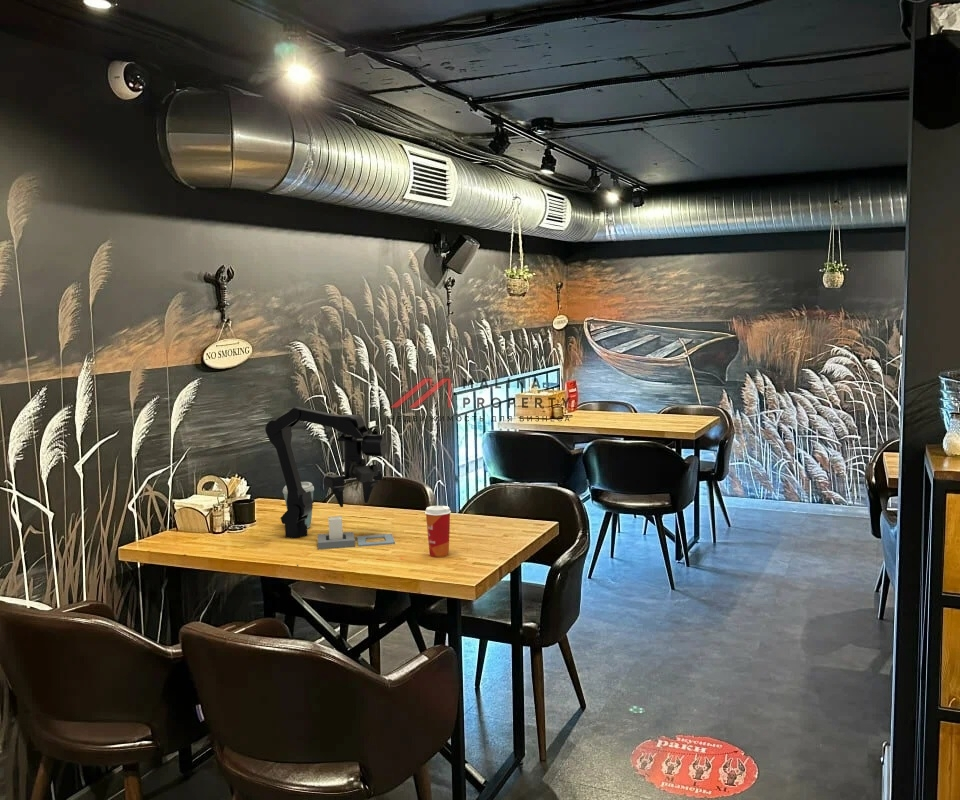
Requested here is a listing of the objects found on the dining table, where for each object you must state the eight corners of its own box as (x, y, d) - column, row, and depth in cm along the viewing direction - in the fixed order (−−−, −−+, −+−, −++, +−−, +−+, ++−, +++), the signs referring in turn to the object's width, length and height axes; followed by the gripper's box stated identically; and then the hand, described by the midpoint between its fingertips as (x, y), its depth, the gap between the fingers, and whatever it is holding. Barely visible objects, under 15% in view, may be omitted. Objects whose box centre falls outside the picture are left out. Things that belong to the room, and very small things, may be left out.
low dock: (358, 551, 254) (358, 544, 253) (356, 542, 264) (356, 536, 264) (395, 548, 256) (394, 542, 255) (391, 540, 266) (391, 533, 266)
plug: (329, 545, 255) (328, 519, 255) (329, 542, 259) (328, 516, 258) (343, 544, 256) (342, 518, 255) (342, 541, 260) (341, 516, 259)
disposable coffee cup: (309, 531, 281) (307, 487, 280) (278, 531, 283) (276, 487, 281) (320, 524, 291) (318, 481, 290) (291, 523, 293) (289, 481, 292)
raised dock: (318, 554, 251) (317, 542, 251) (318, 545, 262) (317, 534, 262) (355, 551, 253) (354, 540, 253) (353, 542, 264) (353, 531, 264)
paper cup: (427, 551, 252) (426, 505, 250) (453, 551, 251) (451, 504, 250) (424, 558, 244) (423, 510, 243) (451, 558, 244) (449, 510, 242)
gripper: (342, 461, 250) (343, 513, 251) (392, 455, 262) (393, 504, 264) (321, 457, 258) (323, 507, 259) (372, 451, 271) (372, 499, 272)
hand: (354, 504), depth 263 cm, fingers open, 9 cm apart
